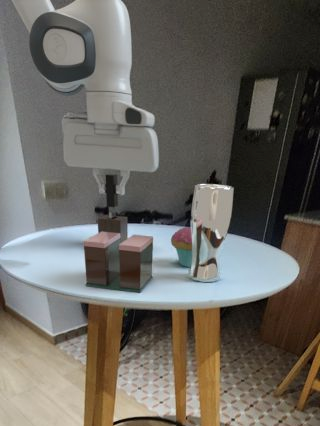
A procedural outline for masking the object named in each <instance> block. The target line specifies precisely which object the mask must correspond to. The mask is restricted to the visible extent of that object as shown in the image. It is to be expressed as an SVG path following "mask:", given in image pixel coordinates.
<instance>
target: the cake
mask: <svg viewBox="0 0 320 426" xmlns="http://www.w3.org/2000/svg"><path fill="white" fill-rule="evenodd" d="M83 249H84V250H83V254H84V265H85V267H84V268H85V278H86V283H85V286H86V287H91V288H98V289H99V288H100V289H106V290H115V291H123V292H132V293H139V294H140V293H142V292H143V290H145V288H146V287H147V286H148V284H149V283H150V282H151V281H152V279H154V277H153V254H154V253H153V252H154V250H153V249H154V236H151V235H140V234H132V235H131V236H128V239H127V240H125V241H124V242H122V243H121V241H120V233H112V232H100V233H98V232H97V233H96V234H94V235H92V236H89V238H86V239H84V240H83Z"/></svg>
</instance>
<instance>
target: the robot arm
mask: <svg viewBox="0 0 320 426" xmlns="http://www.w3.org/2000/svg"><path fill="white" fill-rule="evenodd" d="M11 2H12V3H13V6H14V8H15V9H16V11H17V13H18V15H19V17H20V18H21V20H22V22H23V24H24V26H25V27H26V29H27V31H28V33H29V37H28V44H29V51H30V56H31V58H32V61H33V64H34V66H35V68H36V69H37V71H38V73H39V74H40V75H41V77H42V78H43V79H44V82H45V83H46V85H47V86H48V87H49V88H50V89H51V90H52V91H53V92H55V93H57V94H58V95H61V96H65V97H71V96H74V95H77V94H78V93H80V92H81V91H83V88H84V87H85V99H86V102H85V103H86V112H85V111H79V112H75V111H68V112H67V113H66V114H65V115H63V117H62V119H61V130H62V131H61V132H62V134H63V146H62V149H63V161H64V163H65V164H66V166H67V167H73V168H74V167H75V168H89V169H92V175H93V178H94V179H95V181H96V183H97V184H98V193H99V194H104V195H106V183H105V182H104V180H103V178H102V175H103V170H117V171H120V177H122V179H121V180H120V182H119V184H117V185H116V194H117V195H118V196H125V193H126V185H127V183H128V180H129V179H130V175H131V174H130V173H131V172H144V173H154V172H156V171H157V170H158V169H159V166H160V165H159V164H160V150H159V140H158V135H157V133H156V130H155V129H154V128H152V127H155V121H156V119H155V118H156V117H155V115H154V114H153V113H151V112H149V111H147V110H146V109H144V108H142V107H141V106H139V105H136V104H133V93H132V87H131V81H130V78H131V71H132V65H133V54H132V53H133V51H132V50H133V49H132V30H131V19H130V14H129V11H128V9H127V5H126V4H125V3H124V1H123V0H73V1H72V2H71V3H69V4H68V5H65V6H63V7H60V8H58V9H55V7H54V6H53V3H52V1H51V0H11Z"/></svg>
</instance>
